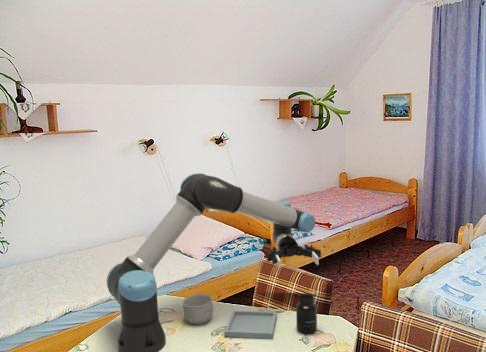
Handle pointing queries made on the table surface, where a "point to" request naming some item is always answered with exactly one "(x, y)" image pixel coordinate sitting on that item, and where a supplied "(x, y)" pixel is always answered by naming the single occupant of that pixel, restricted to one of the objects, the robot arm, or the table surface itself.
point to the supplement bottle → (306, 315)
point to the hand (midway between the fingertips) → (298, 262)
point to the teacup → (198, 308)
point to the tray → (251, 324)
